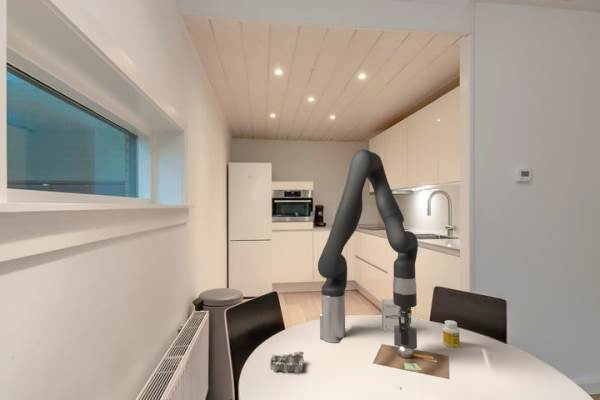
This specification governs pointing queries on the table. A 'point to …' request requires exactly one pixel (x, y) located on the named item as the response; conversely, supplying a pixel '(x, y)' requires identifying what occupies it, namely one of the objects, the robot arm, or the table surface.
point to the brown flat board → (414, 361)
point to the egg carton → (284, 358)
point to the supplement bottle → (451, 334)
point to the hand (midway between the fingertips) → (405, 341)
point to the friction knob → (412, 343)
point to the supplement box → (389, 315)
